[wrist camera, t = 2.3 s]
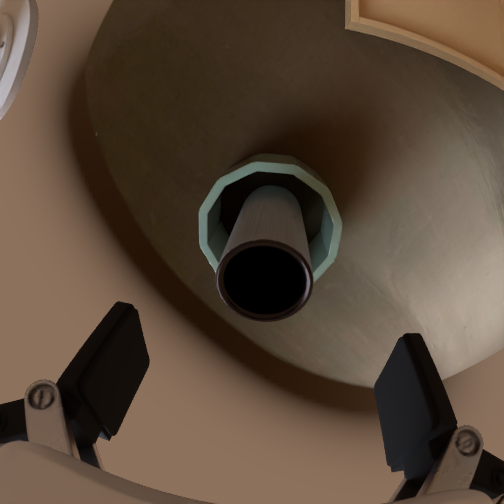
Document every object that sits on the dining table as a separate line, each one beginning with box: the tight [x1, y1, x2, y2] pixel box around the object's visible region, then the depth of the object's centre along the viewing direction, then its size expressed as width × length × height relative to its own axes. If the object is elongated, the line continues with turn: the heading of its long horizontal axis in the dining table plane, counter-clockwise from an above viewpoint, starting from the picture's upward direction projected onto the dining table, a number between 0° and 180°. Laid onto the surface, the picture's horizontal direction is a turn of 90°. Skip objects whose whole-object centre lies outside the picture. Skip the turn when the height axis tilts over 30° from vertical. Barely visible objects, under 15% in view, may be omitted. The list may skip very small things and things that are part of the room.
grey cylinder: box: [216, 185, 314, 322], centre depth 17 cm, size 4×4×10 cm
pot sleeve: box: [199, 153, 343, 282], centre depth 20 cm, size 9×9×4 cm
